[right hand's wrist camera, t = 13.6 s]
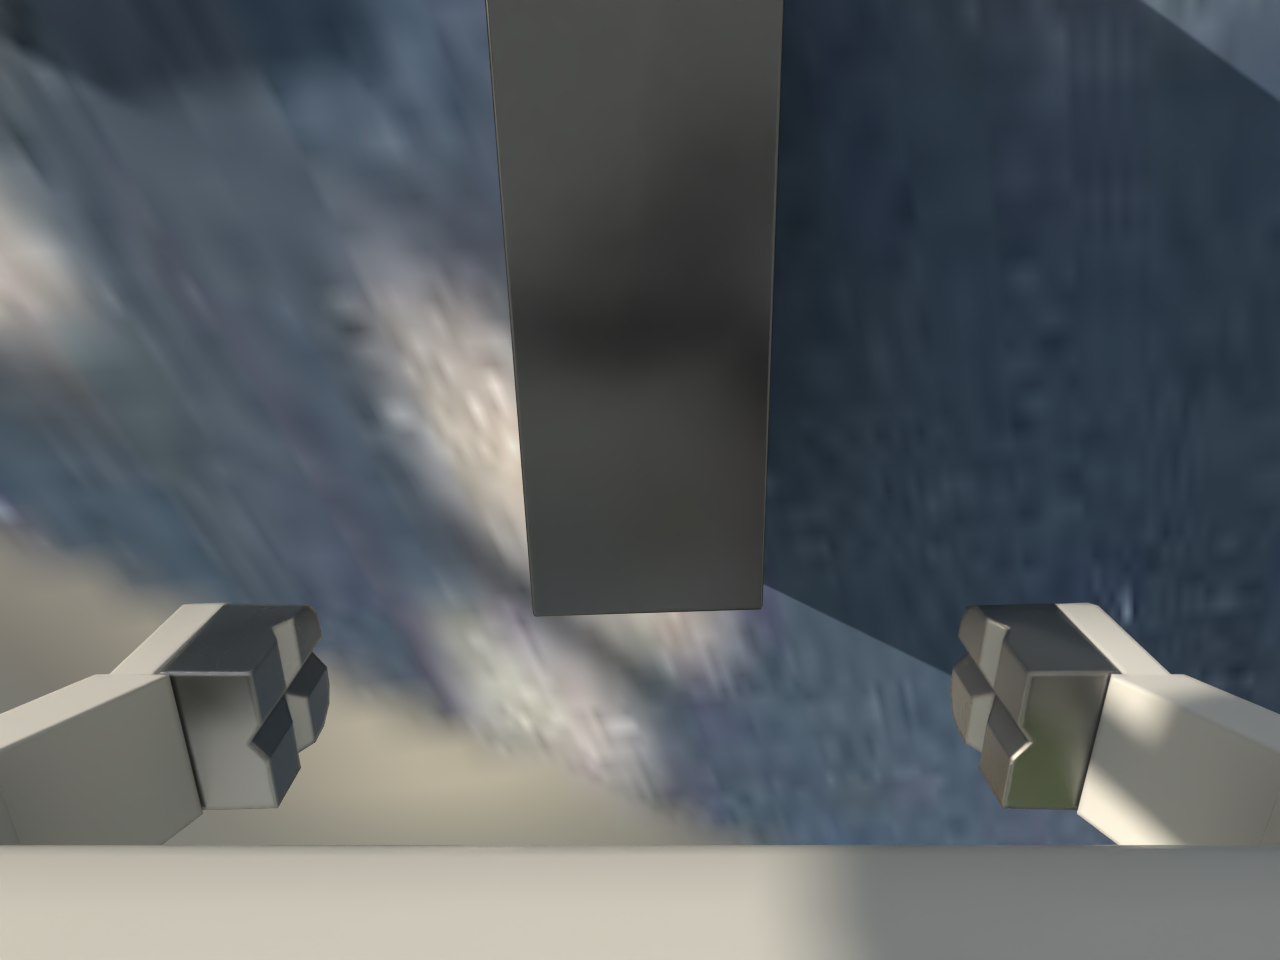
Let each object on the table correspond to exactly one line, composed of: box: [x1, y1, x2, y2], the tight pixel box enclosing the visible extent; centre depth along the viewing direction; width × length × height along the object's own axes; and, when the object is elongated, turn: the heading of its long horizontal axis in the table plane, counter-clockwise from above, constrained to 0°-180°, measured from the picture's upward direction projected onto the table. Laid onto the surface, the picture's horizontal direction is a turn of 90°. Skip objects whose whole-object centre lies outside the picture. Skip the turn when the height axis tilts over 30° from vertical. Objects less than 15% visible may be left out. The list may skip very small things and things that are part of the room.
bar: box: [485, 0, 784, 616], centre depth 21 cm, size 22×6×9 cm, turn 1°
